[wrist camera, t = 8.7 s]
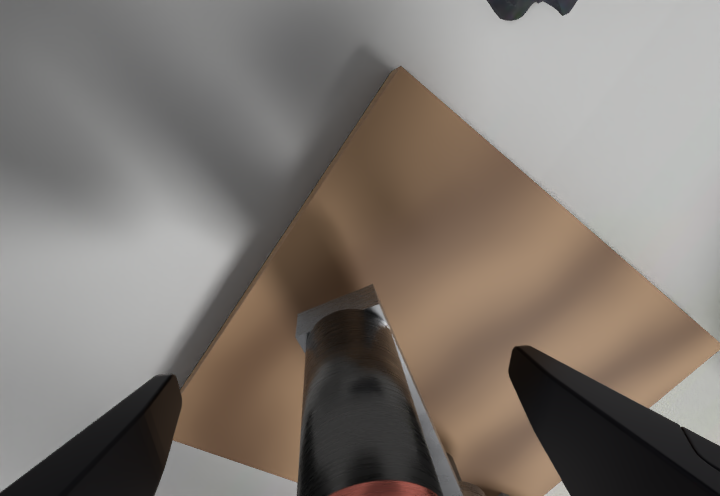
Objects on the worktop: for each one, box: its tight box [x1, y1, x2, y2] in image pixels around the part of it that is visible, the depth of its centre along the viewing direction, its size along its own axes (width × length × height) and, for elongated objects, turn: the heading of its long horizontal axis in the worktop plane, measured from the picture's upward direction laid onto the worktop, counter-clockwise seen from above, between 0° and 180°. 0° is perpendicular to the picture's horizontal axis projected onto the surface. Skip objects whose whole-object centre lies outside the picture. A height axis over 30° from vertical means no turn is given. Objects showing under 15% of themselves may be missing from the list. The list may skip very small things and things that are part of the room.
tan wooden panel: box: [173, 66, 720, 496], centre depth 14 cm, size 22×18×7 cm
